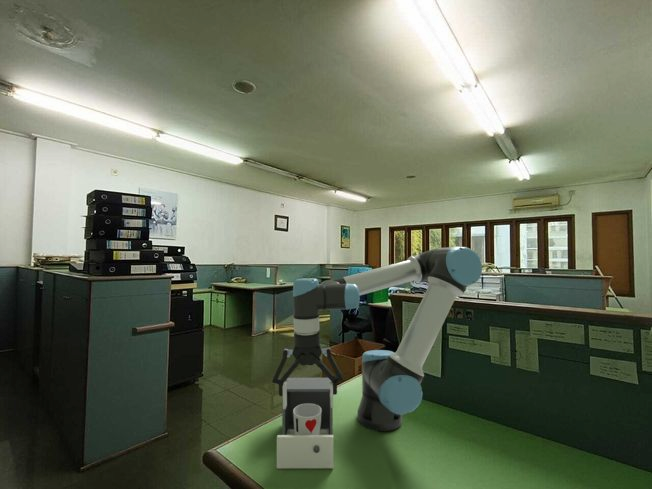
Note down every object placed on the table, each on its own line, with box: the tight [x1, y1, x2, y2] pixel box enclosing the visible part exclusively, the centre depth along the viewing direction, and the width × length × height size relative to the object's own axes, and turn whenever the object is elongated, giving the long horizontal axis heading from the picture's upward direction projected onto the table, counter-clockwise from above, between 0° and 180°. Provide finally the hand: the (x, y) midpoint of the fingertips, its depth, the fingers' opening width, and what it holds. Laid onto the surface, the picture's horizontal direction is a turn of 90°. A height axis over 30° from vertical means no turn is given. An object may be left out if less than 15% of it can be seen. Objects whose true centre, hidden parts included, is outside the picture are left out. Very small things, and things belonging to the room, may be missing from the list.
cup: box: [293, 404, 321, 435], centre depth 88 cm, size 8×8×10 cm
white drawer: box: [276, 429, 335, 469], centre depth 88 cm, size 14×15×8 cm
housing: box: [281, 377, 334, 436], centre depth 97 cm, size 14×15×15 cm
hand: (308, 406), depth 88 cm, fingers open, 13 cm apart
